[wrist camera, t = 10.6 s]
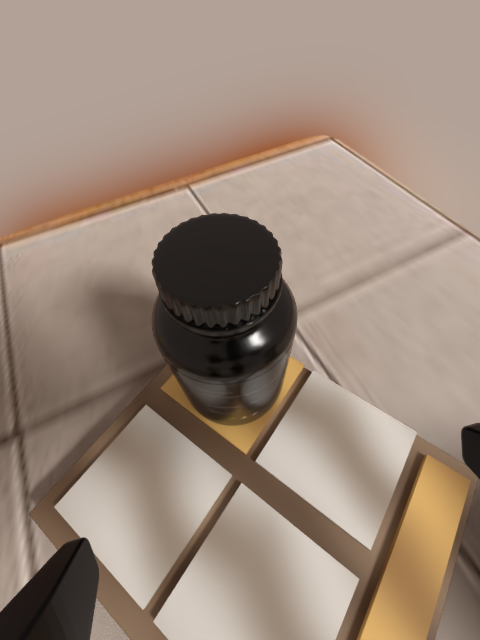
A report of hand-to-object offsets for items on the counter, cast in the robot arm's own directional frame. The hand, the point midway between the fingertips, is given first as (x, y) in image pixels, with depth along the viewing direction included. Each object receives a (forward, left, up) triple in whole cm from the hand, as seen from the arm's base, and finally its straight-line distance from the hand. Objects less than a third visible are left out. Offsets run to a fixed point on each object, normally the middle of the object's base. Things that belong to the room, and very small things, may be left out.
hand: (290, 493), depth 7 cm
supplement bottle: (+5, +6, -12) cm, 14 cm away
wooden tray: (0, +1, -14) cm, 14 cm away
